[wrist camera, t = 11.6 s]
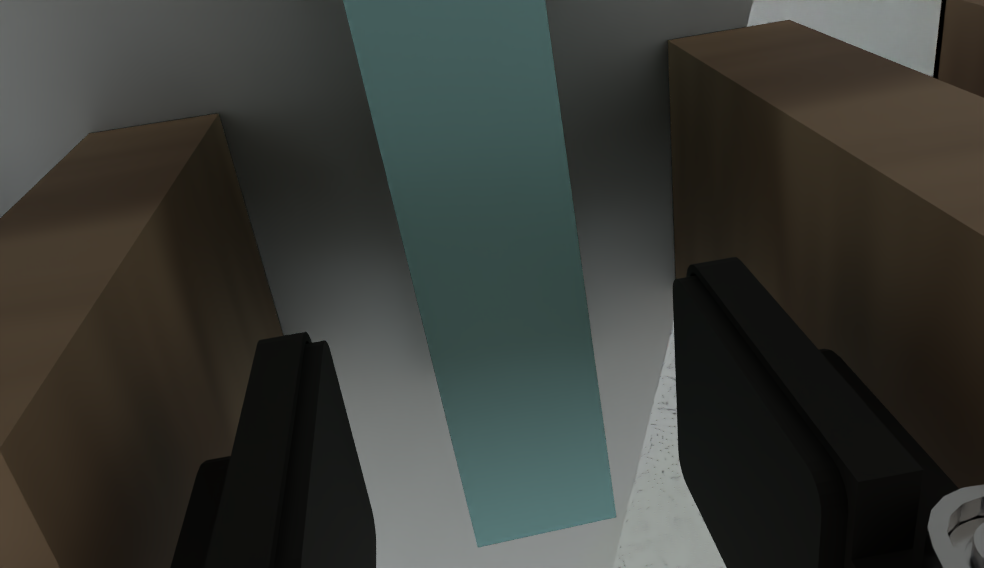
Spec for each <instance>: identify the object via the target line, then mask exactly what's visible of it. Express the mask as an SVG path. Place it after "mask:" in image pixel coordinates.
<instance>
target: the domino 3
mask: <svg viewBox="0 0 984 568" xmlns="http://www.w3.org/2000/svg"><path fill="white" fill-rule="evenodd" d="M668 62H669V91H670V121H671V151H672V181H673V211H674V240H675V270H676V279H679V278H685V277H686V274H687V269H688V267H689V265H691V264H696V263H702V262H708V261H714V260H719V259H725V258H731V257H737V258H738V259H740V260H741V261H742V262H743V263H744V265H745V266H746V267H747V268H748V269H749V270H750V271H751V273H752V274H753V275H754V276H755V277H756V278H757V280H758V281H759V282H760V283H761V284H762V285H763V286H764V288H765V289H766V290H767V291H768V292H769V293H770V294H771V296H772V297H773V298H774V299H775V300H776V301H777V302H778V304H779V305H780V306H781V307H782V308H783V309H784V310H785V312H786V313H787V314H788V315H789V316H790V317H791V318H792V320H793V321H794V322H795V323H796V324H797V325H798V327H799V328H800V329H801V330H802V331H803V332H804V333H805V335H806V336H807V337H808V338H809V339H810V340H811V341H812V343H813V344H814V345H815V346H816V347H817V348H818V349H829V350H832V351H834V352H835V353H836V354H837V355H838V356H840V357H841V358H842V359H843V361H844V362H845V363H846V364H847V365H848V366H849V367H850V368H851V369H852V371H853V372H854V373H855V374H856V375H857V376H858V377H859V378H860V379H861V381H862V382H863V383H864V384H865V385H866V386H867V387H868V388H869V389H870V391H871V392H872V393H873V394H874V395H875V396H876V397H877V398H878V399H879V400H880V402H881V403H882V404H883V405H884V406H885V407H886V408H887V409H888V410H889V412H890V413H891V414H892V415H893V416H894V417H895V418H896V419H897V420H898V422H899V423H900V424H901V425H902V426H903V427H904V428H905V429H906V430H907V432H908V433H909V434H910V435H911V436H912V437H913V438H914V439H915V440H916V442H917V443H918V444H919V445H920V446H921V447H922V448H923V449H924V450H925V451H926V453H927V454H928V455H929V456H930V457H931V458H932V459H933V460H934V461H935V463H936V464H937V465H938V466H939V467H940V468H941V469H942V470H943V471H944V473H945V474H946V475H947V476H948V477H949V478H950V479H951V480H952V481H953V483H954V484H955V485H956V486H957V487H958V488H959V489H961V488H964V487H970V486H977V485H983V484H984V98H983V97H980V96H978V95H975V94H973V93H970V92H968V91H965V90H963V89H960V88H958V87H955V86H953V85H950V84H948V83H945V82H943V81H940V80H938V79H935V78H933V77H930V76H928V75H925V74H923V73H920V72H918V71H916V70H913V69H911V68H908V67H906V66H903V65H901V64H898V63H896V62H893V61H891V60H888V59H886V58H883V57H881V56H878V55H876V54H873V53H871V52H868V51H866V50H863V49H861V48H858V47H856V46H853V45H851V44H848V43H846V42H843V41H841V40H838V39H836V38H833V37H831V36H828V35H826V34H823V33H821V32H818V31H816V30H813V29H811V28H808V27H806V26H803V25H801V24H798V23H796V22H793V21H791V20H785V21H779V22H773V23H767V24H762V25H756V26H750V27H744V28H738V29H732V30H726V31H720V32H714V33H708V34H702V35H697V36H691V37H685V38H679V39H673V40H668Z"/></svg>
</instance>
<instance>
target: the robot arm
mask: <svg viewBox="0 0 984 568" xmlns="http://www.w3.org/2000/svg"><path fill="white" fill-rule="evenodd" d="M673 313H674V341H675V368H676V396H677V424H678V451H679V460H680V466H681V470H682V473H683V477H684V480H685V482H686V484H687V486H688V489H689V491H690V493H691V495H692V497H693V499H694V501H695V503H696V505H697V507H698V509H699V511H700V513H701V515H702V517H703V520H704V522H705V524H706V526H707V528H708V530H709V532H710V534H711V536H712V538H713V540H714V542H715V544H716V546H717V548H718V551H719V553H720V555H721V557H722V559H723V561H724V563H725V565H726V567H727V568H984V484H983V485H977V486H970V487H964V488H961V489H959V488H958V487H957V486H956V485H955V484H954V483H953V481H952V480H951V479H950V478H949V477H948V476H947V475H946V474H945V473H944V471H943V470H942V469H941V468H940V467H939V466H938V465H937V464H936V463H935V461H934V460H933V459H932V458H931V457H930V456H929V455H928V454H927V453H926V451H925V450H924V449H923V448H922V447H921V446H920V445H919V444H918V443H917V442H916V440H915V439H914V438H913V437H912V436H911V435H910V434H909V433H908V432H907V430H906V429H905V428H904V427H903V426H902V425H901V424H900V423H899V422H898V420H897V419H896V418H895V417H894V416H893V415H892V414H891V413H890V412H889V410H888V409H887V408H886V407H885V406H884V405H883V404H882V403H881V402H880V400H879V399H878V398H877V397H876V396H875V395H874V394H873V393H872V392H871V391H870V389H869V388H868V387H867V386H866V385H865V384H864V383H863V382H862V381H861V379H860V378H859V377H858V376H857V375H856V374H855V373H854V372H853V371H852V369H851V368H850V367H849V366H848V365H847V364H846V363H845V362H844V361H843V359H842V358H841V357H840V356H838V355H837V354H836V353H835V352H834V351H832V350H829V349H818V348H817V347H816V346H815V345H814V344H813V343H812V341H811V340H810V339H809V338H808V337H807V336H806V335H805V333H804V332H803V331H802V330H801V329H800V328H799V327H798V325H797V324H796V323H795V322H794V321H793V320H792V318H791V317H790V316H789V315H788V314H787V313H786V312H785V310H784V309H783V308H782V307H781V306H780V305H779V304H778V302H777V301H776V300H775V299H774V298H773V297H772V296H771V294H770V293H769V292H768V291H767V290H766V289H765V288H764V286H763V285H762V284H761V283H760V282H759V281H758V280H757V278H756V277H755V276H754V275H753V274H752V273H751V271H750V270H749V269H748V268H747V267H746V266H745V265H744V263H743V262H742V261H741V260H740V259H738V258H737V257H731V258H725V259H719V260H714V261H708V262H702V263H696V264H691V265H689V267H688V269H687V274H686V277H685V278H679V279H675V281H674V283H673ZM170 568H376V533H375V524H374V518H373V513H372V508H371V504H370V501H369V497H368V493H367V489H366V485H365V482H364V478H363V474H362V470H361V466H360V462H359V459H358V455H357V451H356V447H355V443H354V439H353V436H352V432H351V428H350V424H349V420H348V417H347V413H346V409H345V405H344V401H343V397H342V394H341V390H340V386H339V382H338V378H337V374H336V371H335V367H334V363H333V359H332V355H331V352H330V348H329V346H328V343H327V342H326V341H320V342H314V343H312V342H311V339H310V337H309V335H308V333H307V332H302V333H296V334H290V335H285V336H279V337H273V338H268V339H262V340H259V341H258V343H257V346H256V351H255V355H254V359H253V363H252V368H251V372H250V376H249V380H248V385H247V389H246V393H245V397H244V402H243V406H242V410H241V414H240V419H239V423H238V427H237V431H236V436H235V440H234V444H233V448H232V453H231V456H227V457H221V458H216V459H210V460H206V461H204V462H203V463H202V464H201V465H200V467H199V470H198V472H197V475H196V478H195V482H194V485H193V489H192V492H191V496H190V499H189V503H188V507H187V510H186V514H185V517H184V521H183V524H182V528H181V531H180V535H179V538H178V542H177V545H176V549H175V553H174V556H173V560H172V563H171V567H170Z"/></svg>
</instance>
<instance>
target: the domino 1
mask: <svg viewBox="0 0 984 568" xmlns="http://www.w3.org/2000/svg"><path fill="white" fill-rule="evenodd" d="M279 336H283V333H282V330H281V327H280V323H279V320H278V316H277V313H276V309H275V306H274V302H273V299H272V296H271V292H270V289H269V285H268V282H267V278H266V275H265V271H264V268H263V264H262V261H261V258H260V254H259V251H258V247H257V244H256V240H255V237H254V233H253V230H252V227H251V223H250V220H249V216H248V213H247V209H246V206H245V202H244V199H243V196H242V192H241V189H240V185H239V182H238V178H237V175H236V171H235V168H234V165H233V161H232V158H231V154H230V151H229V147H228V144H227V140H226V137H225V134H224V130H223V127H222V123H221V120H220V116H219V113H218V114H211V115H205V116H198V117H192V118H186V119H179V120H173V121H166V122H160V123H154V124H147V125H141V126H134V127H128V128H121V129H115V130H109V131H102V132H96V133H89V134H88V135H87V136H86V137H85V138H84V139H83V140H82V141H81V142H80V143H79V144H78V145H77V146H75V147H74V148H73V149H72V150H71V151H70V152H69V153H68V154H67V155H66V156H65V157H64V158H63V159H62V160H61V161H60V162H59V163H58V164H57V165H56V166H55V167H54V168H53V169H51V170H50V171H49V172H48V173H47V174H46V175H45V176H44V177H43V178H42V179H41V180H40V181H39V182H38V183H37V184H36V185H35V186H34V187H33V188H32V189H31V190H30V191H28V192H27V193H26V194H25V195H24V196H23V197H22V198H21V199H20V200H19V201H18V202H17V203H16V204H15V205H14V206H13V207H12V208H11V209H10V210H9V211H8V212H7V213H5V214H4V215H3V216H2V217H1V218H0V568H170V567H171V563H172V560H173V556H174V553H175V549H176V545H177V542H178V538H179V535H180V531H181V528H182V524H183V521H184V517H185V514H186V510H187V507H188V503H189V499H190V496H191V492H192V489H193V485H194V482H195V478H196V475H197V472H198V470H199V467H200V465H201V464H202V463H203V462H204V461H206V460H210V459H216V458H221V457H227V456H231V453H232V448H233V444H234V440H235V436H236V431H237V427H238V423H239V419H240V414H241V410H242V406H243V402H244V397H245V393H246V389H247V385H248V380H249V376H250V372H251V368H252V363H253V359H254V355H255V351H256V346H257V343H258V341H259V340H262V339H268V338H273V337H279Z"/></svg>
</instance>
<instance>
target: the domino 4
mask: <svg viewBox="0 0 984 568" xmlns="http://www.w3.org/2000/svg"><path fill="white" fill-rule="evenodd" d="M933 78H935V79H938V80H940V81H943V82H945V83H948V84H950V85H953V86H955V87H958V88H960V89H963V90H965V91H968V92H970V93H973V94H975V95H978V96H980V97H983V98H984V0H942V2H941V11H940V20H939V29H938V38H937V47H936V55H935V64H934V73H933Z"/></svg>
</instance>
